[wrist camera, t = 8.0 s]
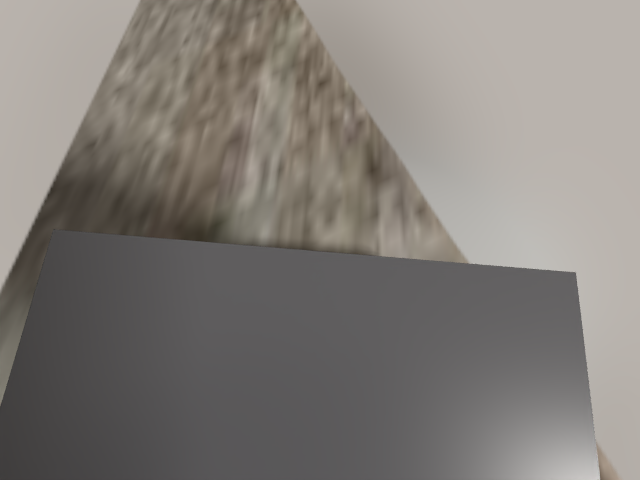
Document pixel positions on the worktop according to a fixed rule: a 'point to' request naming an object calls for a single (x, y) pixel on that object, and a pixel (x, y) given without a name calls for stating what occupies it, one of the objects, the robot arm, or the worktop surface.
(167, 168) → the worktop surface
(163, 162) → the worktop surface
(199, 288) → the plug
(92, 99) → the worktop surface
